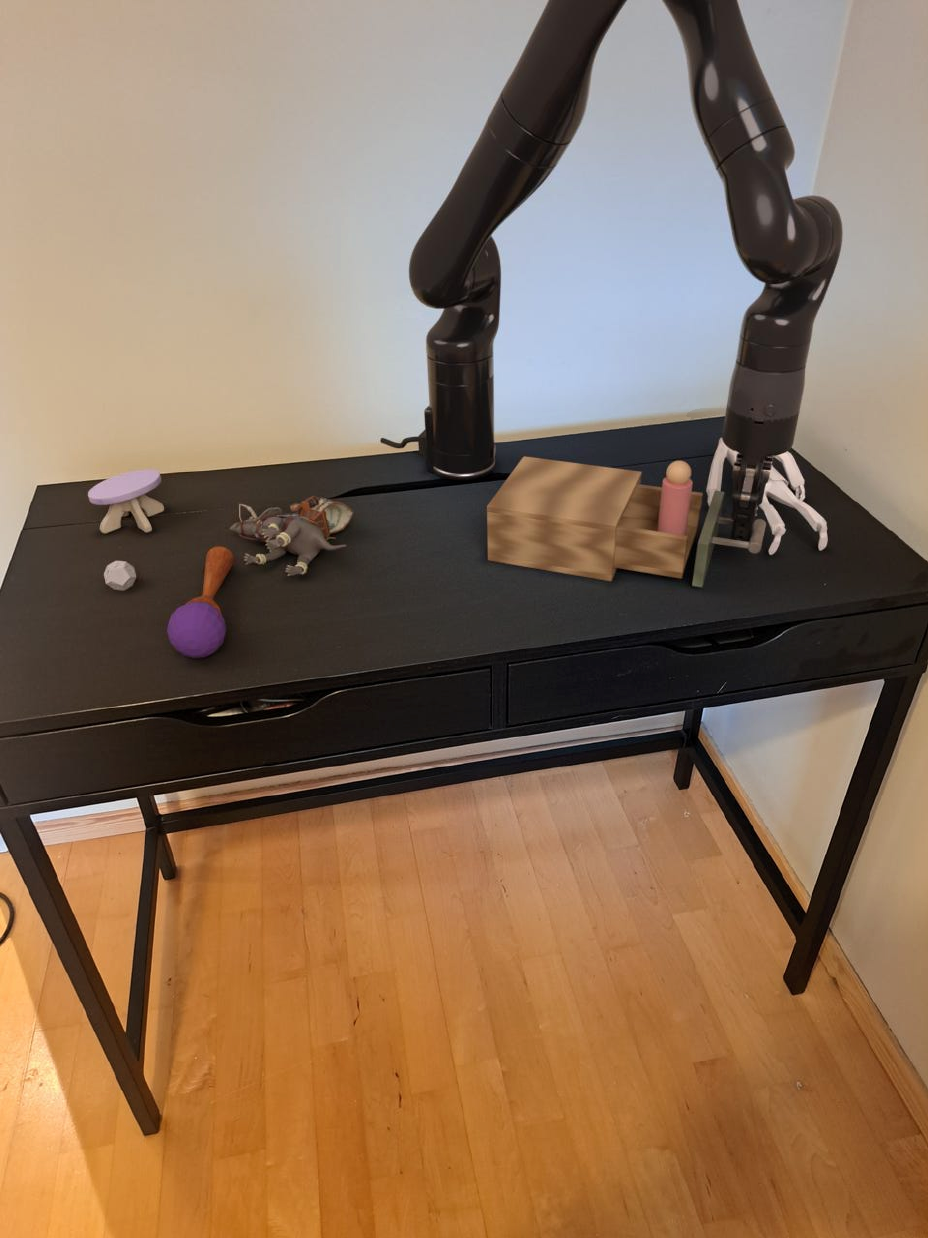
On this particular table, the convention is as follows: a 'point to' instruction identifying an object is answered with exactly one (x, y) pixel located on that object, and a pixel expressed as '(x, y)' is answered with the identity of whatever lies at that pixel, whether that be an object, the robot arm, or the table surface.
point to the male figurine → (773, 493)
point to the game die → (119, 575)
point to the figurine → (295, 530)
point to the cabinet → (560, 517)
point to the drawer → (673, 536)
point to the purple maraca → (202, 611)
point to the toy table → (127, 498)
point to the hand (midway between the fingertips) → (739, 543)
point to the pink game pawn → (675, 499)
